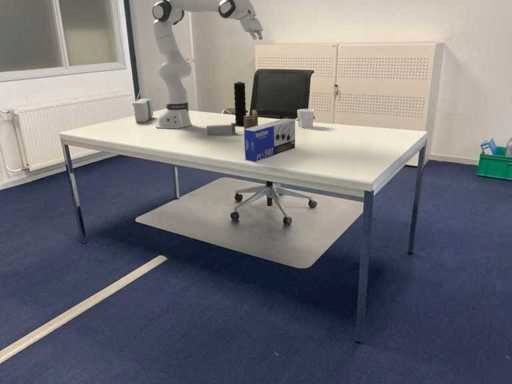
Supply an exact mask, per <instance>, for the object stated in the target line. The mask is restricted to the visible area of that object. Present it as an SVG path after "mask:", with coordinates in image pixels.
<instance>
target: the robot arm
mask: <svg viewBox="0 0 512 384" xmlns="http://www.w3.org/2000/svg"><path fill="white" fill-rule="evenodd" d="M151 11H152V16H153V18H154V19H155V20H154V21H153V23H152V27H153V29H152V30H153V33H154V34H153V35H154V38H155V42H156V44H157V47H158V50H159V51H158V52H159V53H160V55H161V56H162V57H164V59H165V60H166V61H165V62H164V63H162V64H161V65H160V66H159V67H158V74H159V76H160V78H161V79H162V80H163V81H164V83H165V86H166V89H167V92H168V101H169V102H167V103H166V110H165V111H164V112H163V113H161V114H160V115H159V118H158V123H156V124H155V128H156V129H182V128H184V127H185V128H186V127H190V126H191V125H192V124H193V123H192V122H191V118H190V112H189V111H190V108H189V106H190V105H189V102H188V92H187V89H186V87H185V86H184V84H183V83H182V79H186V78H188V77H189V76H190V75H191V74H192V66H191V64H190V63H189V62H188V61H187V60H186V59H185V57H184V56H183V54H182V53H181V51H180V49H179V47H178V44H177V41H176V38H175V35H174V32H173V28H172V27H173V26H175V25H177V24H178V23H179V22H181V21H182V20H183V19H184V17H185V12H188V13H189V12H190V13H202V12H204V13H205V12H214V13H215V12H216V13H218V14H219V16H220V17H221V18H223V19H226V20H227V19H228V20H235V21H236V20H238V21H239V22H240V24H241V27H242V28H243V30H244V32H246V33H249V35H250V36H251V38H252V39H253V41H254V40H257V39H258V40H259V41H262V40H264V37H263V33H262V32H263V31H264V28H263V26H262V23H261V22H260V21H259V19H258V18H257V17H256V16H257V13H256V10H255V8H254V6H253V4H252V3H251V1H250V0H161V1H159V2H156V3H155V4H154V5H153V6H152V10H151ZM256 34H257V35H256ZM257 36H258V37H257Z"/></svg>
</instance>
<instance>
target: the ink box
mask: <svg viewBox="0 0 512 384" xmlns="http://www.w3.org/2000/svg"><path fill="white" fill-rule="evenodd" d="M243 135H244V137H243V139H244V159H245V161H248V162H249V161H250V162H259V161H261V160H264V159H267V158H270V157H273V156H275V155H278V154H281V153H283V152H286V151H289V150H292V149H294V148H296V119H293V118H281V119H279V120H274V121H270V122H267V123H266V122H265V123H263V124H258V126H254V127H251V128H247V129H243Z"/></svg>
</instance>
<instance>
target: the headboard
mask: <svg viewBox="0 0 512 384" xmlns="http://www.w3.org/2000/svg"><path fill="white" fill-rule="evenodd" d="M258 125H259V114H258V112H257V110H256V109H252V110H251V115H246V116H244V127H243V128H244V129H247V128H251V127H254V126H258ZM244 129H243V130H244Z"/></svg>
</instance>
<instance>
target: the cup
mask: <svg viewBox="0 0 512 384" xmlns="http://www.w3.org/2000/svg"><path fill="white" fill-rule="evenodd" d="M296 111H297V112H296V113H297V123H298V128H300V129H310V128H312V127H313V125H314V116H315V109H314V108H313V109H312V108H301V109H297V110H296Z"/></svg>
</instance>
